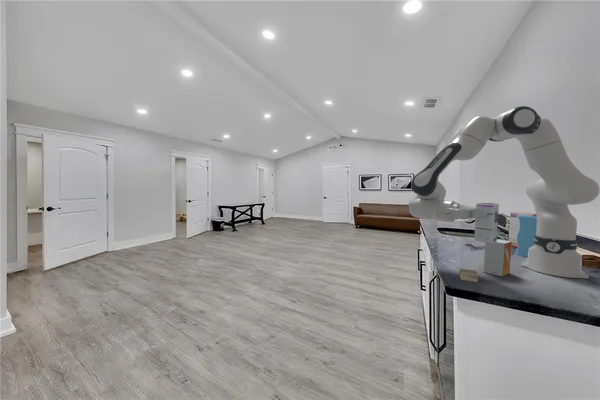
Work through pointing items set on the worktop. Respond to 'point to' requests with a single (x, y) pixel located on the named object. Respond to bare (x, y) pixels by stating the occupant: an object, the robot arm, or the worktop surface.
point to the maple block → (468, 275)
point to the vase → (526, 234)
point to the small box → (497, 257)
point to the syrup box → (486, 223)
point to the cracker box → (516, 225)
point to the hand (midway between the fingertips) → (490, 214)
